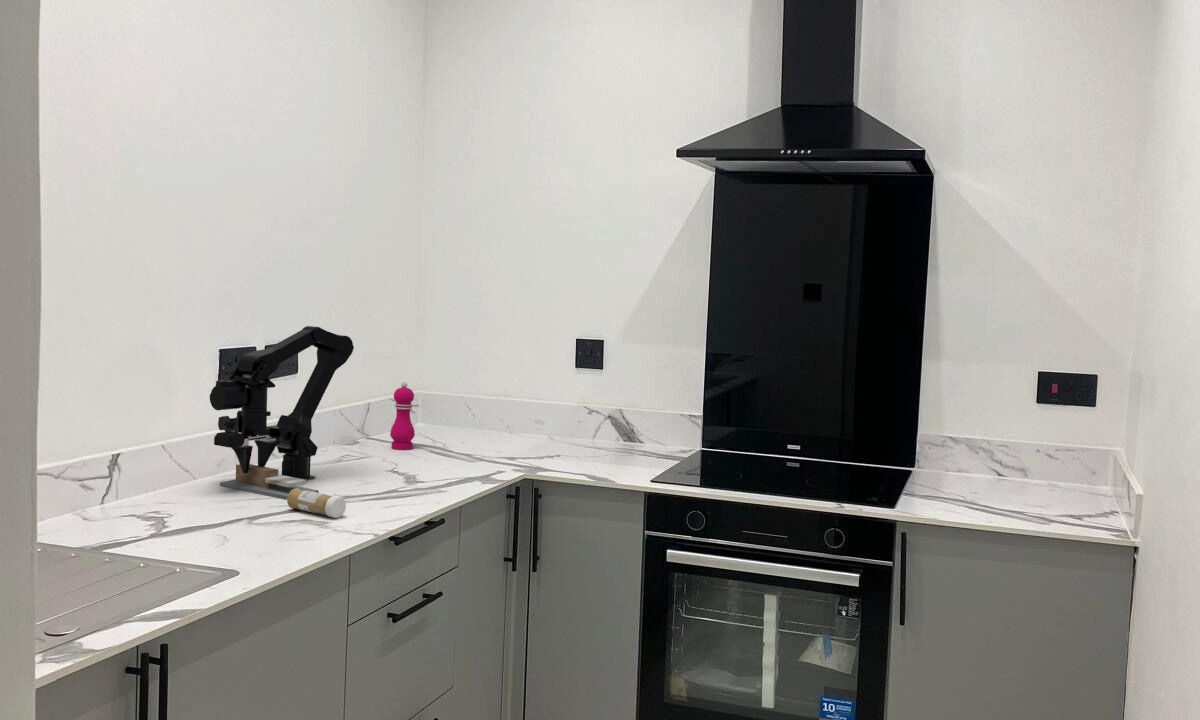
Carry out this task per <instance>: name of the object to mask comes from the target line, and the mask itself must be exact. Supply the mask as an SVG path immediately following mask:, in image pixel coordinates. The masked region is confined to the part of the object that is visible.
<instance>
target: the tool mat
mask: <svg viewBox="0 0 1200 720" xmlns="http://www.w3.org/2000/svg"><path fill="white" fill-rule="evenodd" d="M219 487H224V488H228V489H229V488H230V489H234V490H240V491H243V492H249V493H254V494H258V495H262V496H263V495H264V496H268V497H273V498H277V499H282V500H283V499H284V500H286V501H287V497H288V494H289V493H290V491H291V490H293V489H295V488H298V489H300V490H305V491H312V492H317V493H320V491H319V489H314V488H308V487H303V486H300V485H299V486H295V487H285V486H280V485H278V486H277V487H272V488H265V487H260V486H255V485H250V484H245V483H241V482H236V478H235V479H231V480H226V481H220V482H219Z"/></svg>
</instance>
